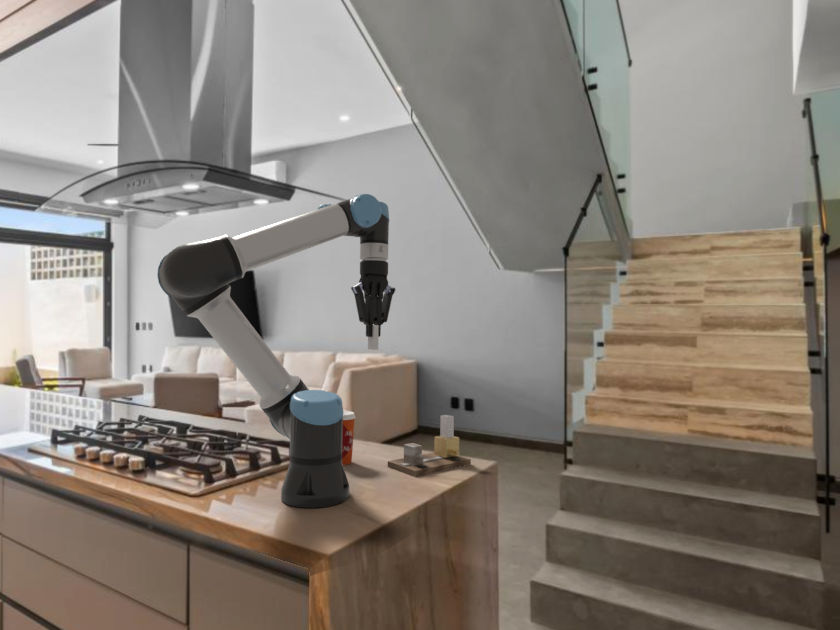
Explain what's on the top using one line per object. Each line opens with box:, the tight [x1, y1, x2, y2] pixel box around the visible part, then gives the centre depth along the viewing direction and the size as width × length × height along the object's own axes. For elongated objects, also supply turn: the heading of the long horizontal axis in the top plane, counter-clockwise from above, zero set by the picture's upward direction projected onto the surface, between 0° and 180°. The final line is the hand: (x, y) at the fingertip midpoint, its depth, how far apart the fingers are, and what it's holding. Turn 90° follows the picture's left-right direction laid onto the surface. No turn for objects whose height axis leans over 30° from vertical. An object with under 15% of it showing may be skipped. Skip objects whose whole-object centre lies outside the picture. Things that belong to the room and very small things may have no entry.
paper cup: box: [342, 410, 357, 466], centre depth 154 cm, size 8×8×14 cm
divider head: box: [433, 414, 460, 458], centre depth 156 cm, size 5×7×11 cm
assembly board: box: [387, 442, 472, 478], centre depth 152 cm, size 20×12×6 cm, turn 129°
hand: (373, 349), depth 146 cm, fingers closed
